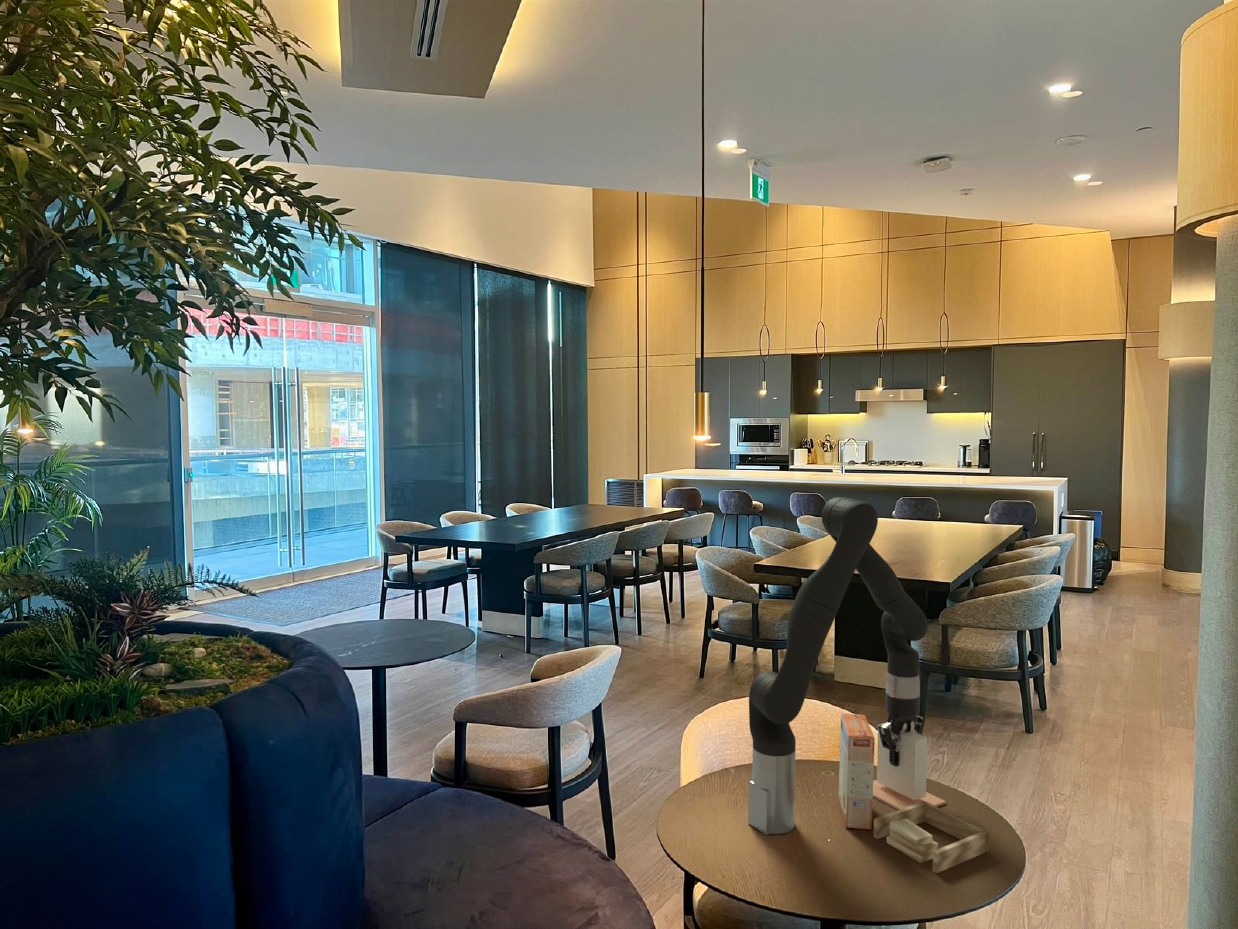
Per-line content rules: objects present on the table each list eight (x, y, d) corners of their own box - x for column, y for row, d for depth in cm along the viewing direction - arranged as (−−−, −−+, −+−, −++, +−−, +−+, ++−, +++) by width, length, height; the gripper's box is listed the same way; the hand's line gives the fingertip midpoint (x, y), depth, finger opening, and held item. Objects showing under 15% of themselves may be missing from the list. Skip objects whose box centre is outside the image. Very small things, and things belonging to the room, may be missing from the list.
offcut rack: (936, 873, 160) (937, 853, 160) (873, 837, 174) (874, 818, 174) (988, 851, 168) (988, 832, 168) (923, 818, 182) (924, 801, 182)
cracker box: (873, 831, 176) (875, 737, 175) (845, 829, 177) (846, 735, 176) (864, 801, 190) (866, 713, 189) (837, 799, 191) (839, 712, 190)
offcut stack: (920, 864, 164) (920, 843, 163) (886, 843, 172) (886, 823, 171) (938, 858, 166) (939, 836, 166) (904, 837, 174) (904, 817, 174)
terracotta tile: (910, 816, 183) (910, 814, 183) (856, 788, 196) (856, 786, 196) (945, 804, 189) (945, 801, 189) (890, 777, 202) (890, 775, 202)
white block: (914, 800, 187) (915, 740, 186) (876, 781, 196) (877, 725, 195) (925, 796, 189) (927, 737, 188) (888, 778, 198) (889, 721, 197)
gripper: (910, 682, 198) (908, 751, 199) (869, 692, 191) (867, 764, 192) (936, 691, 191) (934, 762, 192) (894, 702, 184) (892, 776, 185)
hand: (901, 762), depth 192 cm, fingers closed on white block, 4 cm apart
